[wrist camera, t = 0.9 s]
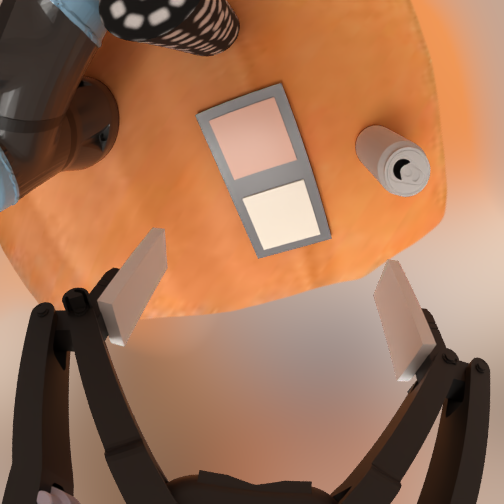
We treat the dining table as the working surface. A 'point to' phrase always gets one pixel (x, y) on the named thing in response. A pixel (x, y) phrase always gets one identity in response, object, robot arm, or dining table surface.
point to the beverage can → (393, 160)
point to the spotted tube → (173, 23)
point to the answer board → (266, 170)
